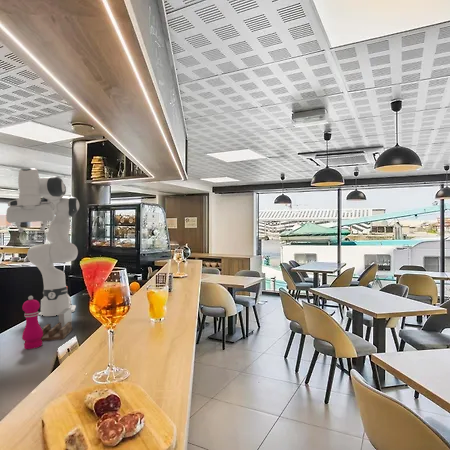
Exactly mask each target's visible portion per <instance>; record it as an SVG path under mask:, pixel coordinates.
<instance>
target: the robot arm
mask: <svg viewBox="0 0 450 450" xmlns="http://www.w3.org/2000/svg"><path fill="white" fill-rule="evenodd" d="M17 183H18V189H19V193H18V198H16V199H13V200H10V201H8V202H7V206H8V207H7V209H6V213H5V214H6V217H5V218H6V222H7V223H8V224H11V223H12V224H15V227H16V228H17V229H18V233H24V228H22V227H21V223H33V222H42V226H40V227H39V228H40V229H39V231H40V232H45V231H46V226H47V224H48V222H50V224H49V227H48V230H47V234H46V239H47V241H48V242H49V243H42V244H38V245H37V244H36V245H33V246H30V248H29V249H28V250H27V253H26V254H27V255H26V256H27V260H28V261H29V262H30V263H31V264H33V265H34V266H35V267H36V268H38V270H39V271H40V274H41V275H42V276H41V277H42V282H43V288H42V289H43V290H42V295H43V297H42V299H40V311H39V312H38V313H39V315H38V316H42V315H43V316H42V317H55V316H56V315H57V316H59V315H58V314H59V313H61V312H62V311H63V310H65V309H66V308H71V313H73V312H75V311H76V308H77V305H76V304H72V298H71V296H70V295H69V293H68V288H69V287H68V286H67V285H66V284H67V283H66V274H65V272H64V271H63V270H61V269H58V268H57V267H55V264H62V263H63V264H64V263H69V262H72V261H75V260H76V259H77V257H78V254H79V250H78V247H77V245H76V244H74V243H72V242H71V241H70V240H69V235H70V229H71V219H70V217H71V218H73V217H74V216H75V215H76V214H77V213H78V211H80V202H79V198H77V197H75V196H65V195H66V193H67V188H66V184H65V182H64V181H63V179H62V178H61V177H60V176H58V175H57V176H48V177H47V176H45V177H41V176H40V177H39V171H38V169H37V168H21V169H19V171H18V180H17Z"/></svg>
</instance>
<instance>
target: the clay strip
mask: <svg viewBox="0 0 450 450" xmlns="http://www.w3.org/2000/svg"><path fill="white" fill-rule="evenodd" d="M72 313H73V312H71V308H66V309H65V310H63V311H62V312H61V313H59V314H58V315H57V316H58V323H61V328H62V327H64V326H65V325H66V324H67V323H68V322H71V323H73V318H72V317H73V315H72Z"/></svg>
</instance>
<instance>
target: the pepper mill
mask: <svg viewBox="0 0 450 450" xmlns="http://www.w3.org/2000/svg"><path fill="white" fill-rule="evenodd" d="M27 299H28V300H26V301H24V302H23V304H22V306H21V307H22V308H21V309H22V311H23V312H24V313H23V314H24V318H25V327H24V330H23V331H22V335H21V336H22V337H21V338H22V341H24V344H23V346H24V347H23V348H24V349H25V350H32V349H37V348H40V347H41V346H42V345H43V341H42V340H40V339H41V338H42V336H43V330H42V328H43V327H41V324H40V323H39V318H38V316H40V315H39V313H40V311H38V310H39V309H41V303H40V302H39V300H37V299H34V296H33V295H29V296H28V297H27Z"/></svg>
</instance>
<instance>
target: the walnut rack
mask: <svg viewBox="0 0 450 450" xmlns="http://www.w3.org/2000/svg"><path fill="white" fill-rule="evenodd" d="M41 328H42V330H43V336H42V338H41V339H40V340H42V342H46V341H58V340H64V339H65V338H66V337H67V336H68V335H69V334H70V333H71V332H72V331H73V330H74V329H73V325H72V322H68V323H67V324H66V325H65V326H64V327H62V328H61V323H59V322H57V323H56V324H55V325H54V326H53V327H52V324H51V323H47V324H46V325H44V326H43V327H41Z"/></svg>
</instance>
